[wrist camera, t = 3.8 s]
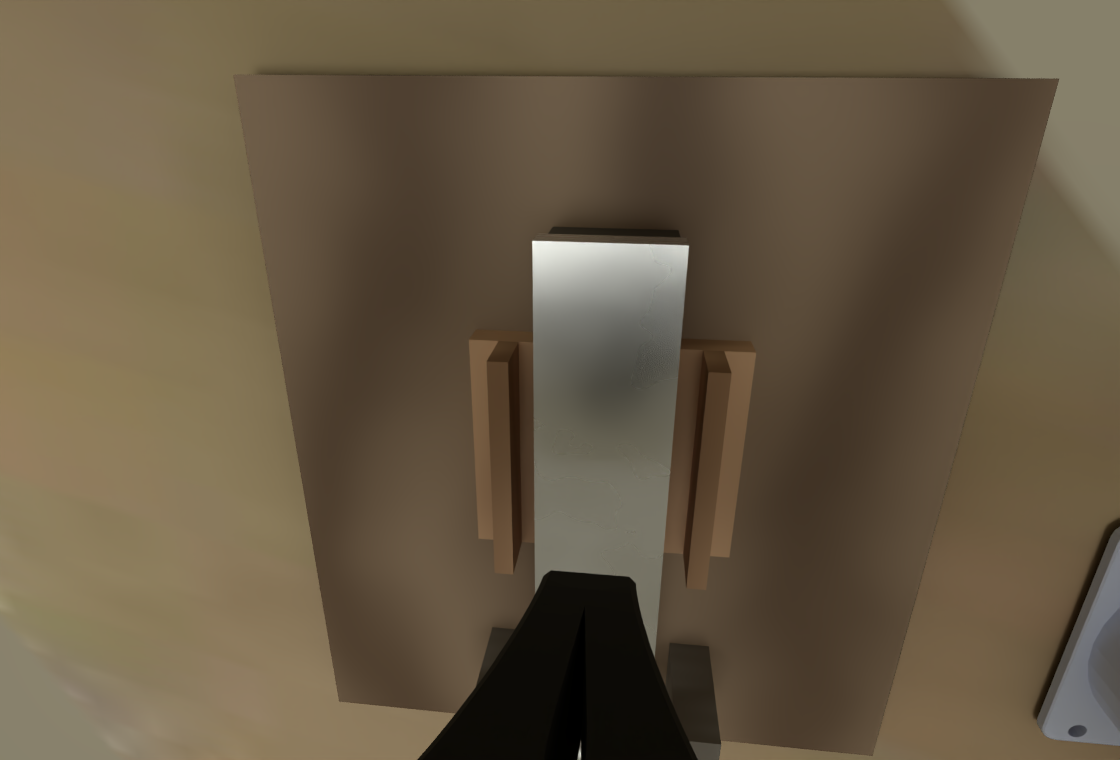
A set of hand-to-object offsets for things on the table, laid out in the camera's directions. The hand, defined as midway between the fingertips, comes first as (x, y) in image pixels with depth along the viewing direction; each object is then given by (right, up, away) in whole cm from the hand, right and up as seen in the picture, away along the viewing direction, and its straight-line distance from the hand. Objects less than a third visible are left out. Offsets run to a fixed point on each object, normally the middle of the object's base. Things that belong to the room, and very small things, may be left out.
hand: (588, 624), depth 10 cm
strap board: (+1, +2, +9) cm, 9 cm away
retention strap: (+1, 0, +6) cm, 6 cm away
